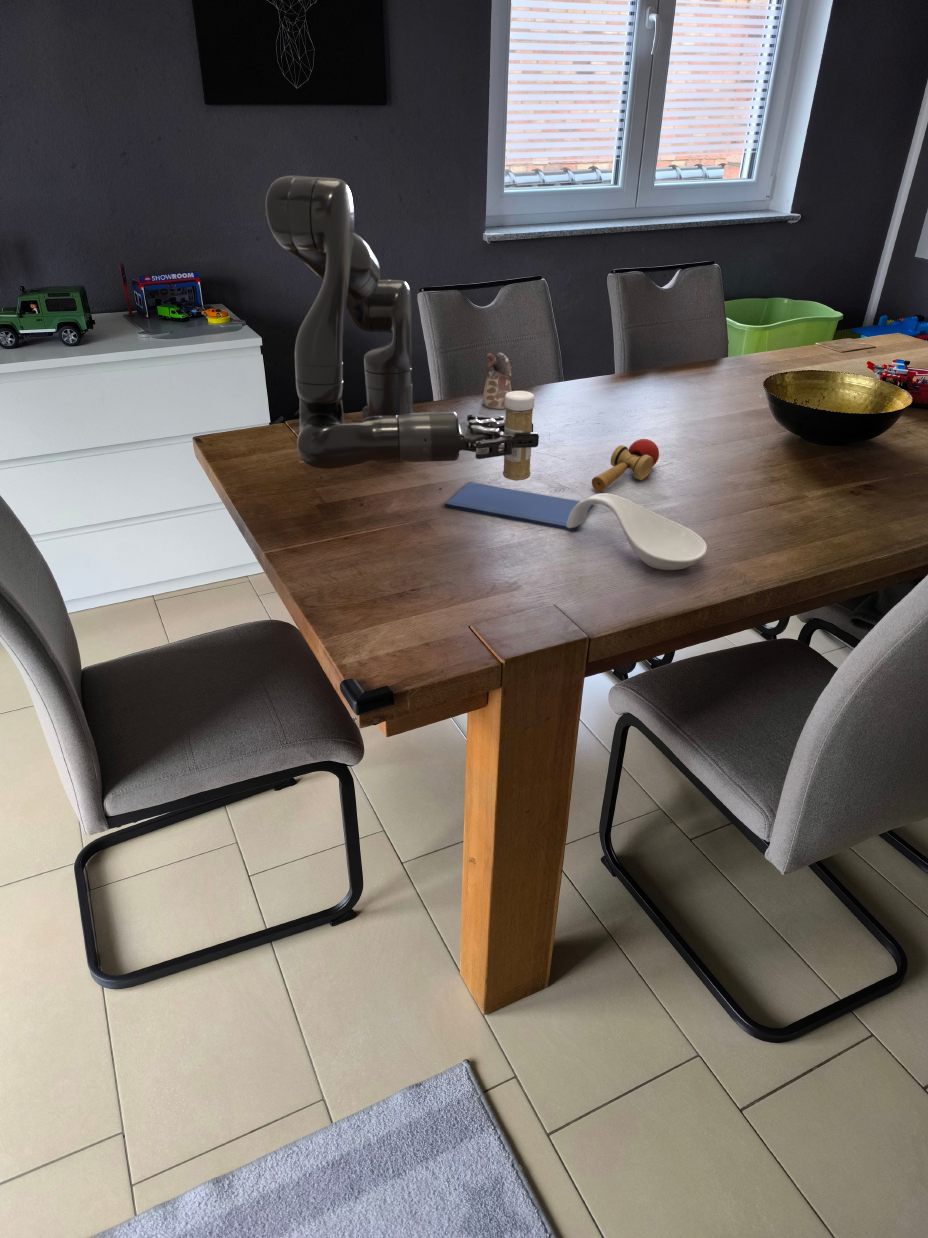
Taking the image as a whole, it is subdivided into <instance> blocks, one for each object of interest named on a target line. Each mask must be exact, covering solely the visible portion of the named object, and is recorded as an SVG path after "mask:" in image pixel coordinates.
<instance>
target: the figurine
mask: <svg viewBox="0 0 928 1238" xmlns="http://www.w3.org/2000/svg"><path fill="white" fill-rule="evenodd" d="M487 358H488V359H489V361H488V363H487V364H486V367H485V371H486V379H485V382H484V383H485V384H484V388H483V395H482V402H483V405H484V407H486V408H488V409H493V410H504V409H506V408H505V395H506V394H507V393H509V392H512V385H511V380H510V378H512V369H513V366H512V365H511V364H510V360H509V358H508V357H507V356H506V355H505V354H504V353H503V352H497V353H495V356H494V355H493V354H492V353H491V352H489V353H488V354H487ZM490 368H493V370H492V371H490Z"/></svg>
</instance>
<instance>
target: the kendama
mask: <svg viewBox="0 0 928 1238" xmlns="http://www.w3.org/2000/svg"><path fill="white" fill-rule="evenodd" d="M659 457H660V449H659V448H658V445H657V444H656V443H655V442H654V441H652V440H651V439H648V438H639V439H637V440H635V441H633V442H632V443H631V444H630V445H629V447H627V446H626V445H623V444H620V445H618V446H617V447H616V448H615V449H614V450H613V452H612V454H611V457H610V465H611V466H612V467H610V468H609V469H606V470H605V471H603V472H601V473H600V474H598V475H595V476H594V477H593V478H592V479H591V486H592V488H593V489H594V490H595V491H597V492H598V493H602V492H603V491H605V490H606V489H607V488H609V486H611V484H613V483H614V482H615V481H616V480H618V479H619V478H620V477H621V476H622V475H623V474H624V473H625V472H626V471H627V470H628V469H629V470H630V471H631V472H632V475H633V478H635V479H637V480H639V481H643V480H644V479H646V478H647V477H648V475H649V474H650V472H651V471H652V468H653V467H654V466H655V465H656V464H657V463H658V461H659Z"/></svg>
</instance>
